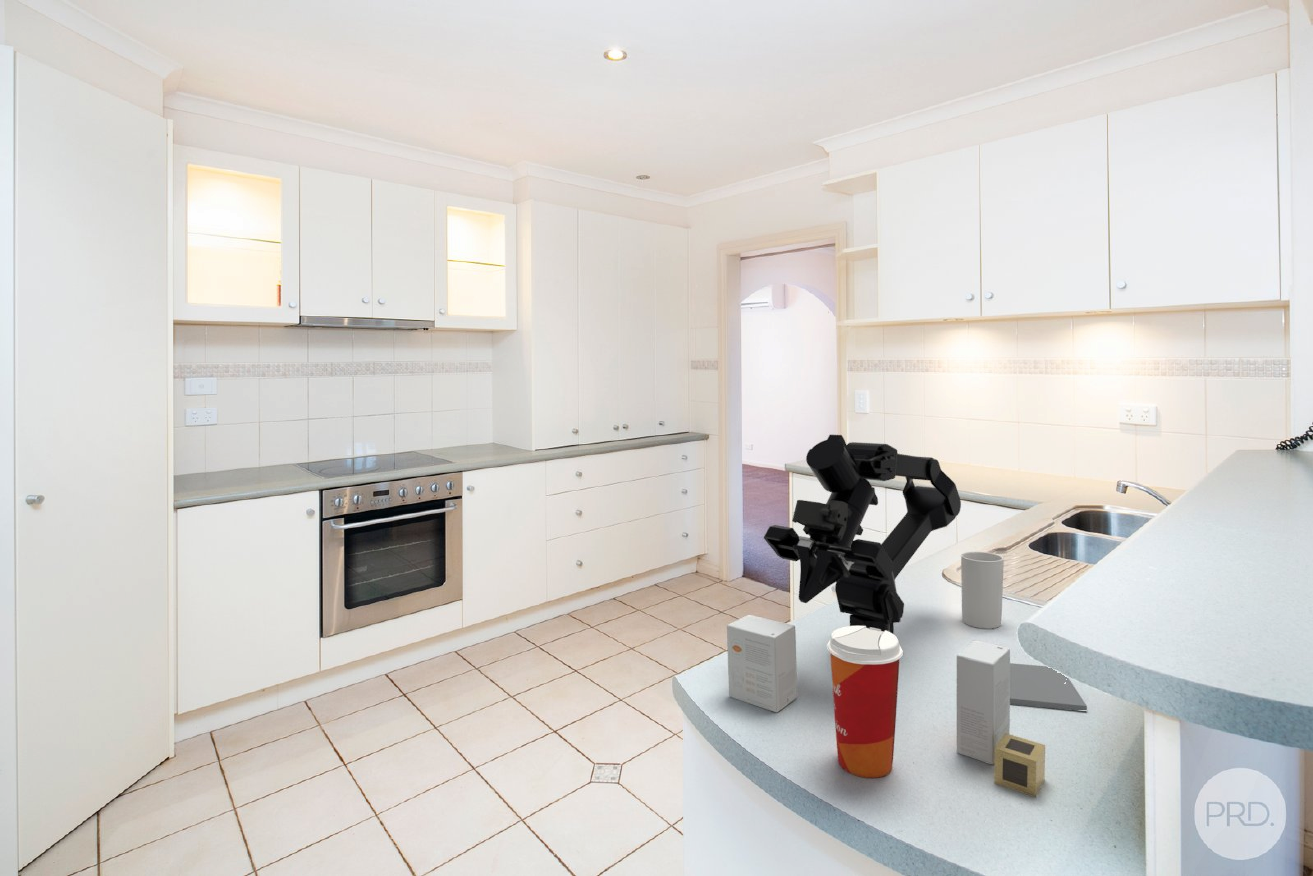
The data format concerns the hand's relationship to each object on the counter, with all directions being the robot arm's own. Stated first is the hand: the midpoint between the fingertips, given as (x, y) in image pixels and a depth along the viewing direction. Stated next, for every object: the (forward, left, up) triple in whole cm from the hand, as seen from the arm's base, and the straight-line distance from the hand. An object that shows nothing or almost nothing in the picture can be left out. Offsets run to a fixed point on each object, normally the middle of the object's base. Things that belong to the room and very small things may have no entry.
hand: (802, 601), depth 94 cm
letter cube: (+6, -28, -13) cm, 32 cm away
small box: (-6, +2, -13) cm, 15 cm away
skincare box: (+8, -22, -13) cm, 27 cm away
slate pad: (+27, -15, -13) cm, 34 cm away
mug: (+45, +5, -13) cm, 47 cm away
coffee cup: (-6, -17, -13) cm, 23 cm away
